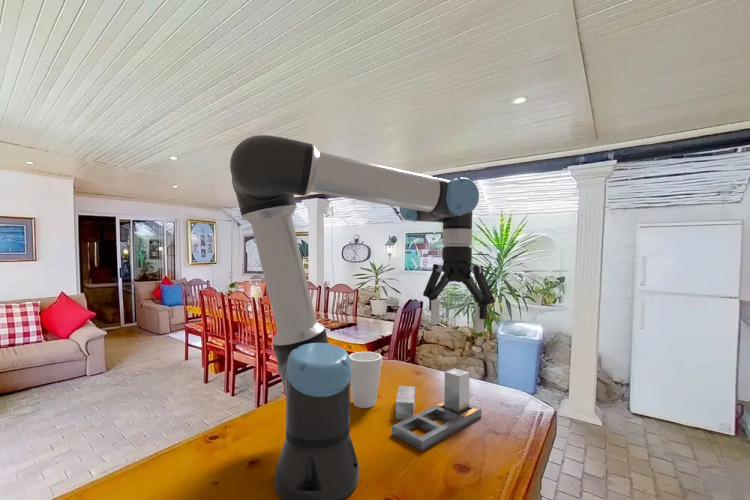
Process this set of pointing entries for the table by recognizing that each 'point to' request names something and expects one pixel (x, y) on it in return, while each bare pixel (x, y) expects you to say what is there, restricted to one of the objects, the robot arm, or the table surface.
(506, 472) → the table surface
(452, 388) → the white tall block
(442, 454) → the table surface
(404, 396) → the block
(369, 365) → the foam cup
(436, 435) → the grey flat frame
